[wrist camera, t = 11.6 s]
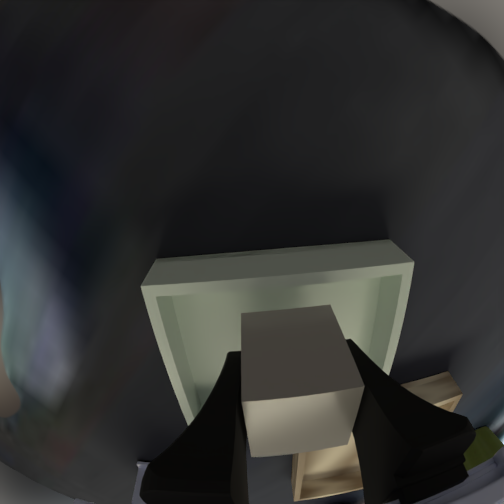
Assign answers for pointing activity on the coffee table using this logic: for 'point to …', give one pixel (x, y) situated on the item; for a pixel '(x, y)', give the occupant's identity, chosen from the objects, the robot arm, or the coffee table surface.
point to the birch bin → (345, 457)
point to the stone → (297, 381)
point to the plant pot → (481, 448)
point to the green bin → (271, 303)
